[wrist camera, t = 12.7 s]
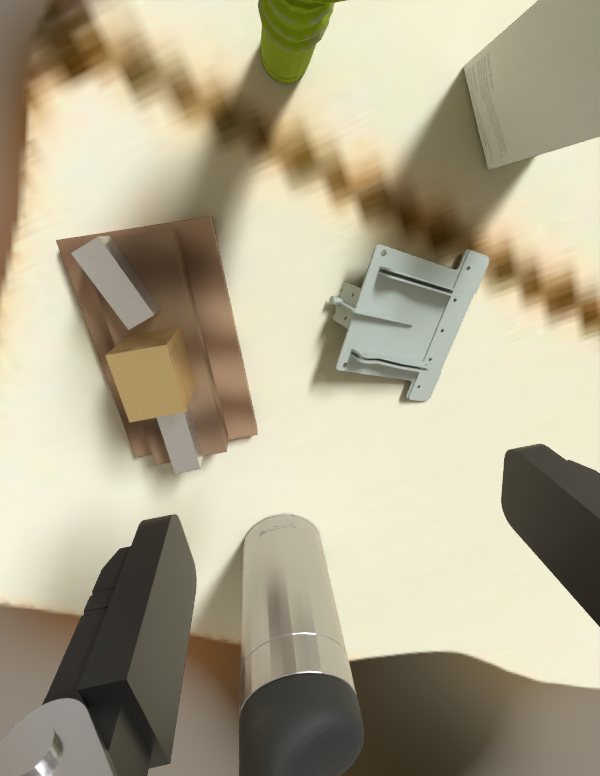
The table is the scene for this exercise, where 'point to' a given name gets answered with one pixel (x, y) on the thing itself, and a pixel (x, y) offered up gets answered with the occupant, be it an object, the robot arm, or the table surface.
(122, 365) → the natural wood cube
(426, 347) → the metal bracket
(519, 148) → the skincare box
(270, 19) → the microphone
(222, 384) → the base
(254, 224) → the table surface
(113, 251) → the grey bar
